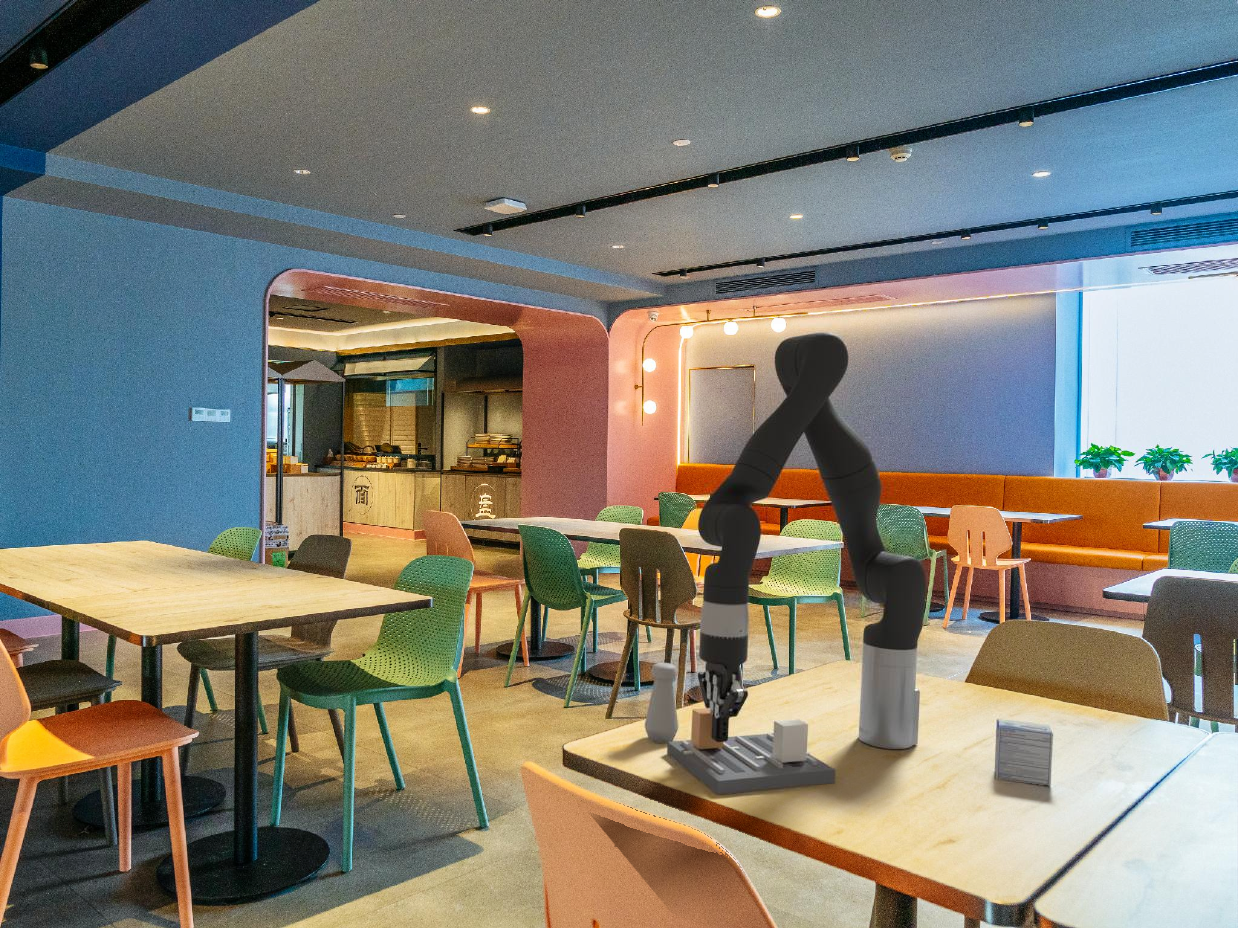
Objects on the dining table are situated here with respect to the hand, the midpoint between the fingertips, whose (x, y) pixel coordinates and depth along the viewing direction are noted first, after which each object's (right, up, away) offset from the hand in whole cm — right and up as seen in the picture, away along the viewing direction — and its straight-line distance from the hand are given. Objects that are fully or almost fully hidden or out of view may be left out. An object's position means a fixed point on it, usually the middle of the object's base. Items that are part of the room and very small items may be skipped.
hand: (719, 740), depth 138 cm
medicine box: (+48, -7, +2) cm, 49 cm away
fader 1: (-2, -2, +4) cm, 4 cm away
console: (+5, -5, +1) cm, 7 cm away
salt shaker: (-9, -4, +13) cm, 16 cm away
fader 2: (+11, -3, -1) cm, 11 cm away
